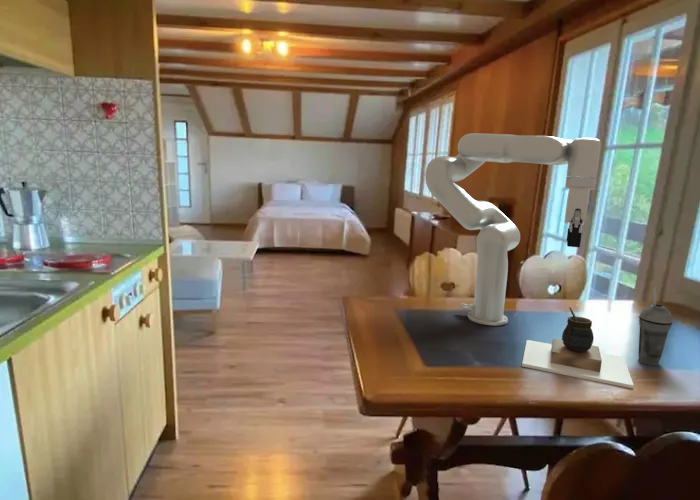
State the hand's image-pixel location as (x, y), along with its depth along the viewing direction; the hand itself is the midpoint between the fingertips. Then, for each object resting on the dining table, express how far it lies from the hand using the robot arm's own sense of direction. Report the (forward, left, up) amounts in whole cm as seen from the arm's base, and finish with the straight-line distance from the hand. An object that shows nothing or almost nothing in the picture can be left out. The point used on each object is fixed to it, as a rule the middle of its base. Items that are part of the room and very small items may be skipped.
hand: (572, 244), depth 127 cm
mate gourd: (+3, -18, -25) cm, 31 cm away
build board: (+3, -18, -28) cm, 34 cm away
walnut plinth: (+3, -18, -28) cm, 33 cm away
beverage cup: (+21, -7, -28) cm, 36 cm away
